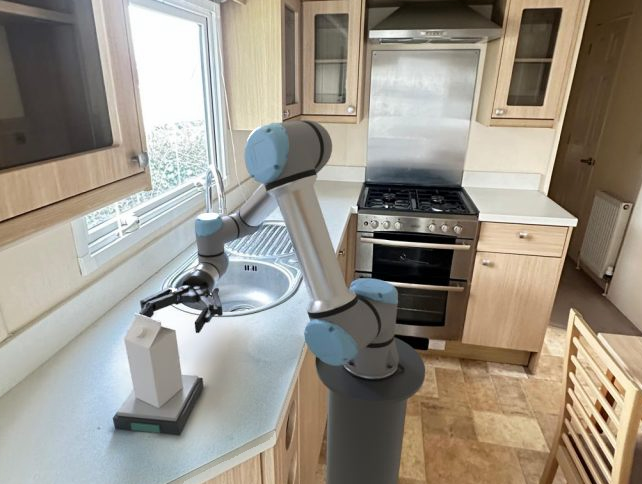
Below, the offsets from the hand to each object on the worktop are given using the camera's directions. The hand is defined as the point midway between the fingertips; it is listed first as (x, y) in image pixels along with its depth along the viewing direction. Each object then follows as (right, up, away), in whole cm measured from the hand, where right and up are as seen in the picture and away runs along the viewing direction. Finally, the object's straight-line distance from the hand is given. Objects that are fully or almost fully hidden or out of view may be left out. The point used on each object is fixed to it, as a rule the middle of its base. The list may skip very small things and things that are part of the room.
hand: (167, 326), depth 90 cm
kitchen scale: (-1, -18, 0) cm, 18 cm away
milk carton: (-1, -14, -2) cm, 14 cm away
